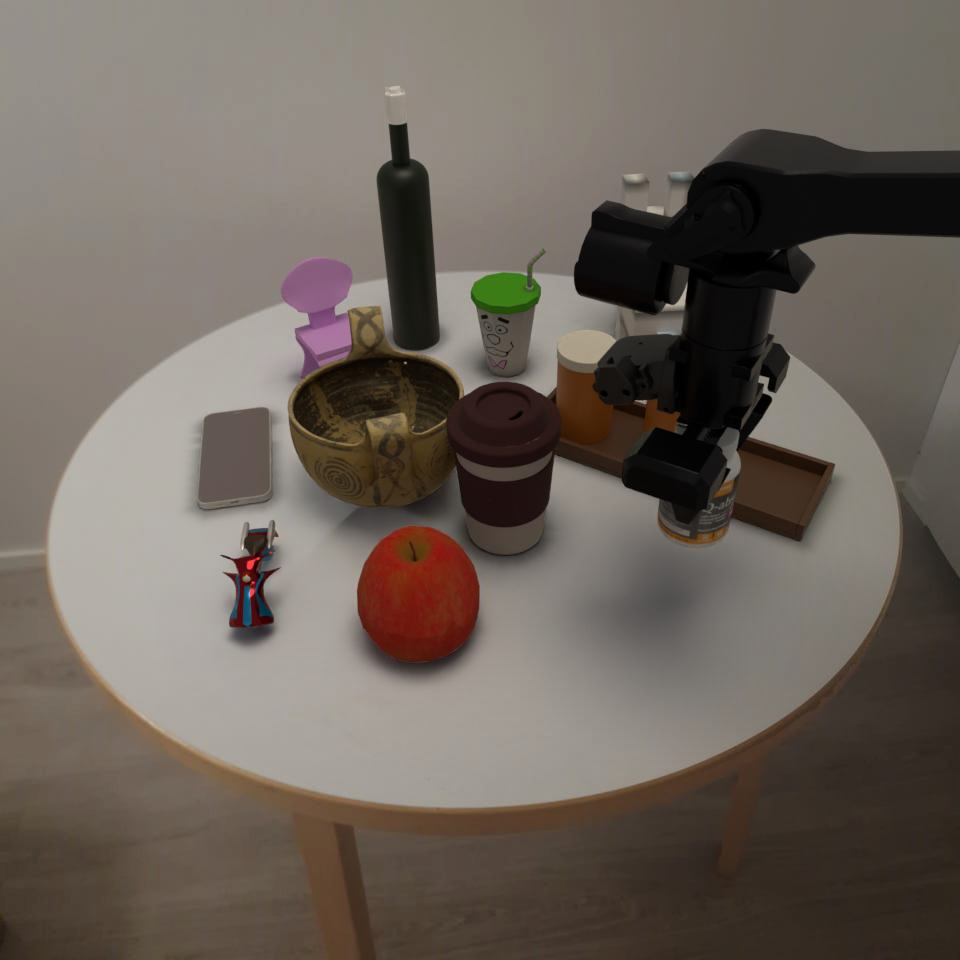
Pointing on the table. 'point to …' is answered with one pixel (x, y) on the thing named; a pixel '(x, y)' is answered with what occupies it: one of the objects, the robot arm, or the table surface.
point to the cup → (507, 318)
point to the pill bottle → (717, 516)
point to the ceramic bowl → (375, 420)
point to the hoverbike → (252, 578)
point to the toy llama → (675, 199)
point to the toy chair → (320, 309)
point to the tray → (762, 481)
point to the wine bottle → (407, 235)
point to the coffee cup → (504, 463)
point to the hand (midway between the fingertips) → (697, 498)
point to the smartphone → (235, 458)
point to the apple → (418, 595)
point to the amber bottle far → (582, 387)
